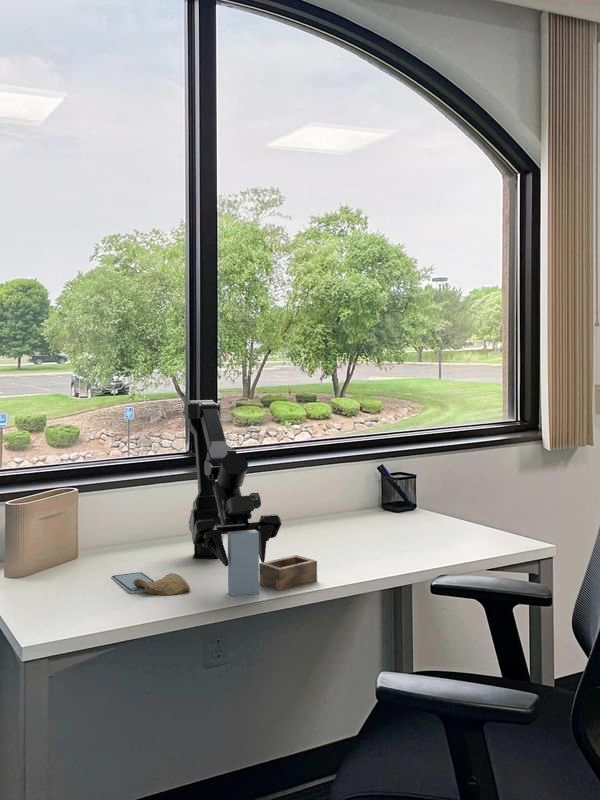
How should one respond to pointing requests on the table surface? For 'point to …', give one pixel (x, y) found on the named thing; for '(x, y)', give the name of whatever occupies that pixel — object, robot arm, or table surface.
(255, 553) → the slate card
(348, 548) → the table surface
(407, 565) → the table surface
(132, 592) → the smartphone
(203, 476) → the robot arm
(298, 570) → the brown wooden open box
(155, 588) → the brown tapered lumpy piece
